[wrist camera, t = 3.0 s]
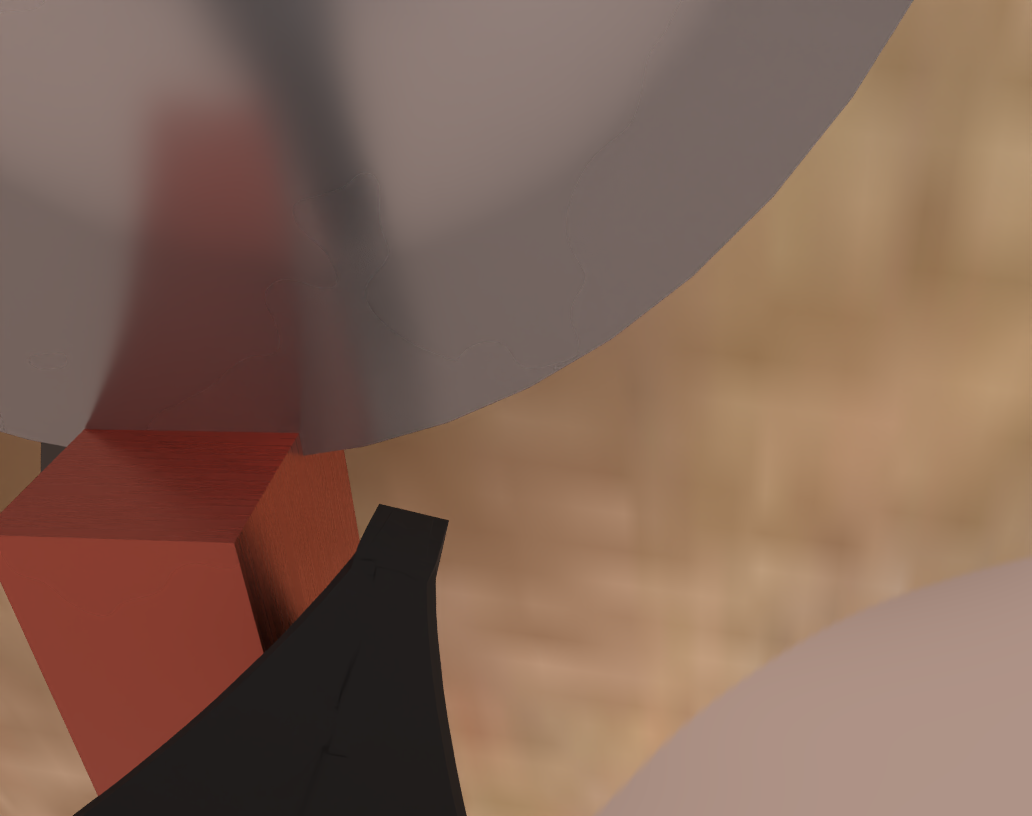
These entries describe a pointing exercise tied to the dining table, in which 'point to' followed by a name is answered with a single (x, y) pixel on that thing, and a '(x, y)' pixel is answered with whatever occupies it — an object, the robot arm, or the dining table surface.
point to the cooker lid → (331, 275)
